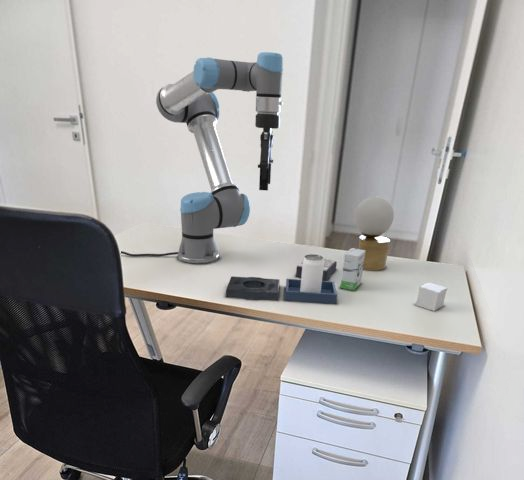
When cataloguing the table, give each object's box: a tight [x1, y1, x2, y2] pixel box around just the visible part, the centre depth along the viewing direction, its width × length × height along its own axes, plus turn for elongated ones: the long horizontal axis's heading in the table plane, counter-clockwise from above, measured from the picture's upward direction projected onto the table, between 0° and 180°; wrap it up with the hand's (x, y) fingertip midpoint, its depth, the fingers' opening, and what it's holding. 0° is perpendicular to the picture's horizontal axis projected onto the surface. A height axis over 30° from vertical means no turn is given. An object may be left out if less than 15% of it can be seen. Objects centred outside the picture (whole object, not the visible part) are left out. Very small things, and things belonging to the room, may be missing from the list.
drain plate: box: [225, 275, 281, 301], centre depth 139 cm, size 16×13×2 cm
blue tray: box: [284, 278, 338, 305], centre depth 138 cm, size 16×12×3 cm
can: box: [300, 253, 324, 293], centre depth 136 cm, size 6×6×12 cm
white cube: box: [415, 282, 448, 312], centre depth 134 cm, size 6×6×6 cm
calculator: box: [295, 258, 338, 281], centre depth 157 cm, size 11×4×15 cm
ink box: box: [339, 247, 365, 291], centre depth 145 cm, size 9×5×12 cm, turn 153°
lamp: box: [353, 195, 395, 272], centre depth 163 cm, size 15×14×25 cm
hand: (264, 186), depth 144 cm, fingers open, 13 cm apart
